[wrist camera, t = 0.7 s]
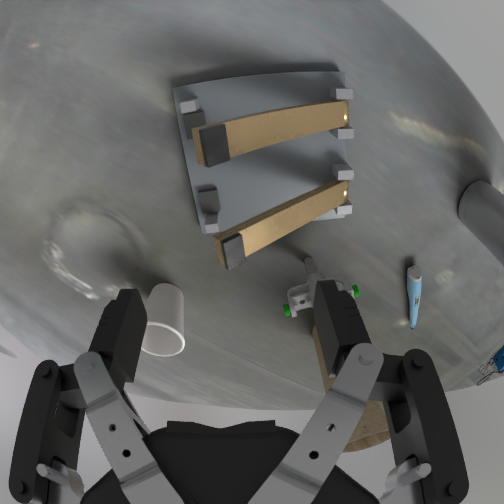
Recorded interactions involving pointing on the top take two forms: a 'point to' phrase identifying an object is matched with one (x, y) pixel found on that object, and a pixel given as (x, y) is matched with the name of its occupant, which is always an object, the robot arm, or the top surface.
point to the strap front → (265, 129)
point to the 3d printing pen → (414, 292)
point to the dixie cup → (164, 321)
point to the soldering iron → (501, 361)
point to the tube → (371, 421)
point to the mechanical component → (313, 289)
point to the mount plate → (267, 158)
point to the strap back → (277, 222)
